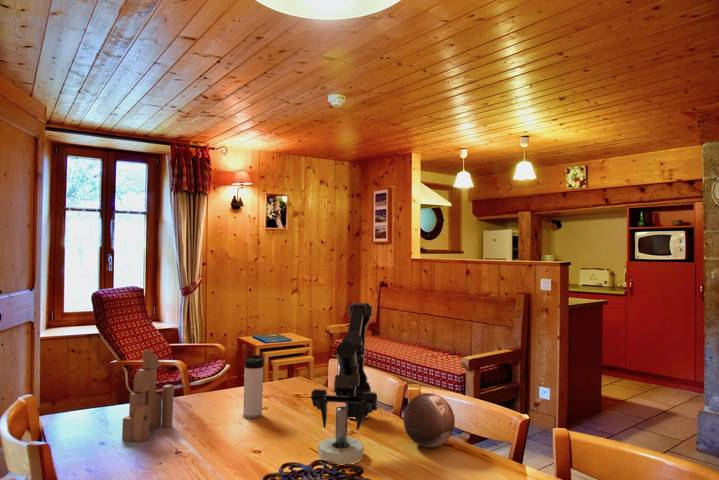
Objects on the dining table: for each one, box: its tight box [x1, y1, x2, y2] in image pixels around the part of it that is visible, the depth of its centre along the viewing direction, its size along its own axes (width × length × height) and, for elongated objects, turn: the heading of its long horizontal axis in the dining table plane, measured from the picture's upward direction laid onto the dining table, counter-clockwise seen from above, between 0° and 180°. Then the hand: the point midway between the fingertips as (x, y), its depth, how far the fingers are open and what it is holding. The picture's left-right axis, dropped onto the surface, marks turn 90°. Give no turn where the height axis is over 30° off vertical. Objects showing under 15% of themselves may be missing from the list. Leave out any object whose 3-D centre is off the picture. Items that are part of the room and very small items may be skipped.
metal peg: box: [335, 406, 349, 449], centre depth 134 cm, size 3×3×13 cm
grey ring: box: [318, 436, 365, 464], centre depth 133 cm, size 12×12×3 cm
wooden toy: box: [121, 349, 175, 443], centre depth 148 cm, size 15×7×25 cm, turn 166°
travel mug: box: [242, 354, 264, 420], centre depth 165 cm, size 6×7×20 cm
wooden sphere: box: [402, 392, 456, 448], centre depth 143 cm, size 15×15×15 cm
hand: (340, 428), depth 132 cm, fingers open, 9 cm apart
